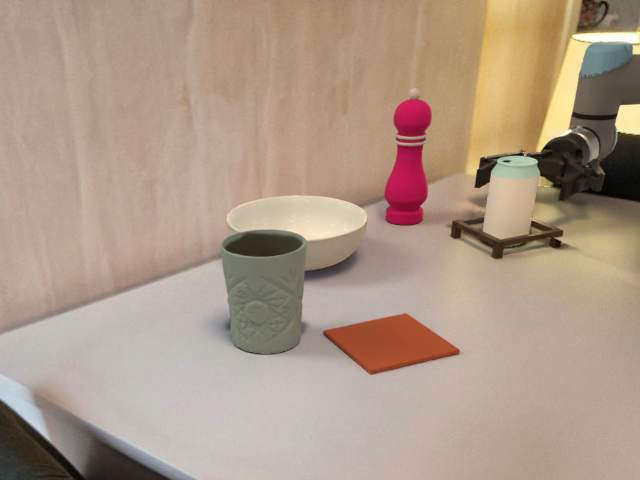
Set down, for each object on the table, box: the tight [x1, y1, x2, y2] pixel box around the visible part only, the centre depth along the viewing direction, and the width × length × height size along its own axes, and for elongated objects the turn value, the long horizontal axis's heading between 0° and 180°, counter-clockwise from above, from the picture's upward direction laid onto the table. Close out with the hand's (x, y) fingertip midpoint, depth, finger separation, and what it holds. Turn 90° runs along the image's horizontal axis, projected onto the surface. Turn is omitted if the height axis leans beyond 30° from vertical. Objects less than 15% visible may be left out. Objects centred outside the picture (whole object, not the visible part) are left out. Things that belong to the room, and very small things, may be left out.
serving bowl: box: [225, 195, 369, 272], centre depth 114 cm, size 21×21×7 cm
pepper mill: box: [383, 87, 433, 226], centre depth 125 cm, size 7×7×20 cm
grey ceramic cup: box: [219, 229, 307, 355], centre depth 91 cm, size 10×10×12 cm
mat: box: [322, 312, 461, 375], centre depth 93 cm, size 12×12×1 cm
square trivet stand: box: [450, 214, 564, 259], centre depth 120 cm, size 12×12×2 cm
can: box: [482, 156, 541, 248], centre depth 117 cm, size 7×7×12 cm
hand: (519, 185), depth 117 cm, fingers open, 13 cm apart
